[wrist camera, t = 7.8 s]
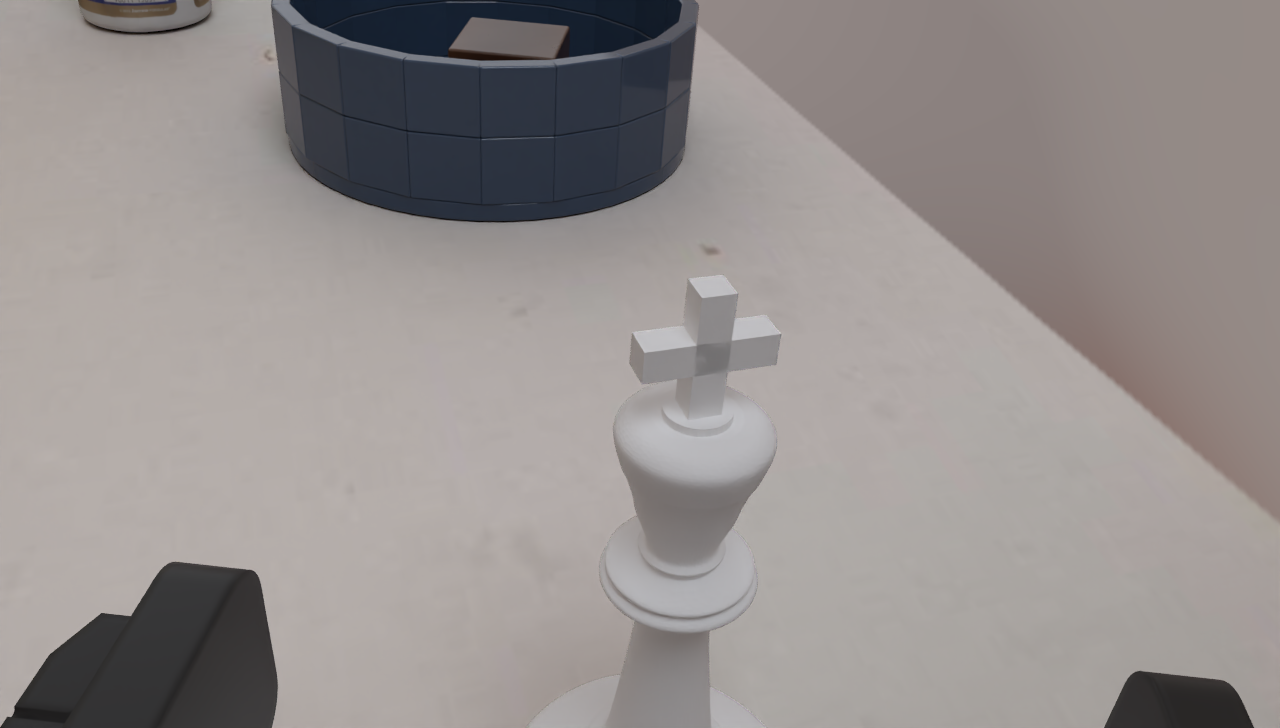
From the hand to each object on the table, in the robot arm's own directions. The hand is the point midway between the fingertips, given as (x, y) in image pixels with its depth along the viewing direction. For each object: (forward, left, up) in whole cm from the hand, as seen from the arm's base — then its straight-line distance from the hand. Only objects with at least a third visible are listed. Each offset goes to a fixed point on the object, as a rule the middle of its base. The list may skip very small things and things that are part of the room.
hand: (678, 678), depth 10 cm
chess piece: (0, -4, -8) cm, 9 cm away
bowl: (+8, -31, -8) cm, 33 cm away
